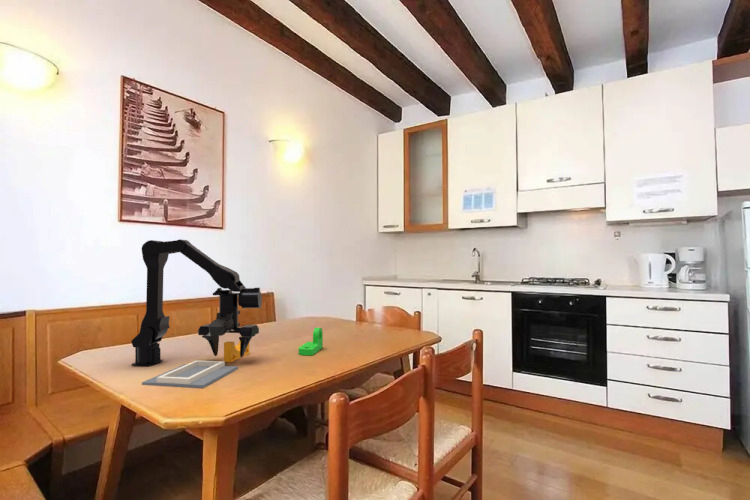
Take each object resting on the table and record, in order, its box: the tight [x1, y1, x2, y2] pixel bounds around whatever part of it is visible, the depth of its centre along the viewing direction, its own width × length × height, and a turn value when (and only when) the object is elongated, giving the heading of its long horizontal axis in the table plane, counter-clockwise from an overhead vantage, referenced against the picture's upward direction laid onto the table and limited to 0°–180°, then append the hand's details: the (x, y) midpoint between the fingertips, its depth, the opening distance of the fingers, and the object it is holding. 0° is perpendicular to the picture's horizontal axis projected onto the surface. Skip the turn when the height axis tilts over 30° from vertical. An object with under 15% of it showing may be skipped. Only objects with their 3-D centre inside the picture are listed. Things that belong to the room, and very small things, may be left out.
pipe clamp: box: [223, 335, 250, 363], centre depth 134 cm, size 12×4×6 cm, turn 170°
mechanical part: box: [298, 327, 324, 356], centre depth 143 cm, size 12×6×8 cm, turn 170°
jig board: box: [141, 359, 239, 389], centre depth 112 cm, size 18×18×2 cm
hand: (228, 356), depth 128 cm, fingers open, 9 cm apart
